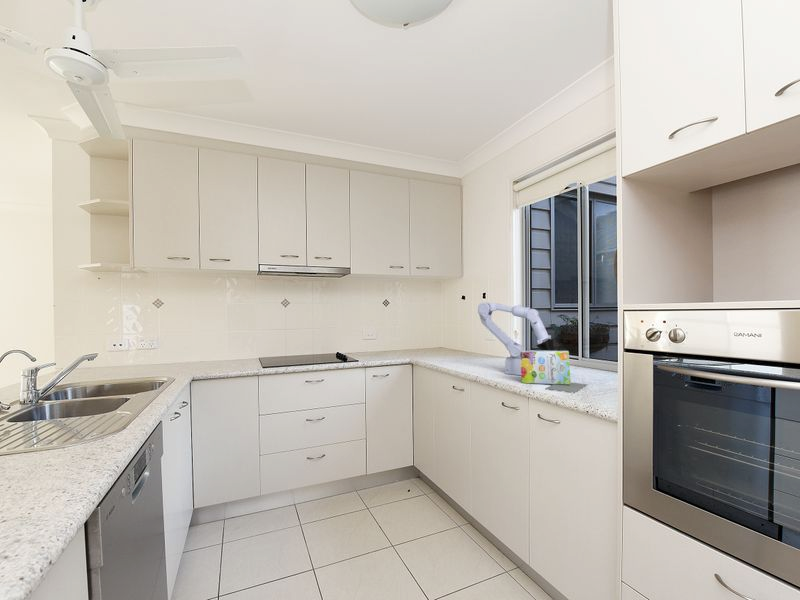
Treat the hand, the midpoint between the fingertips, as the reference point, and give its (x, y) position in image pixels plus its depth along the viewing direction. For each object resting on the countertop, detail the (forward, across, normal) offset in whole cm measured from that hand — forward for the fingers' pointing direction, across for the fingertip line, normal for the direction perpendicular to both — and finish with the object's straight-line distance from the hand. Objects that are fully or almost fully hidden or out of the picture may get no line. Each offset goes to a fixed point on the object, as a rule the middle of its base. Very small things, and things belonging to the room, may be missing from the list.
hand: (551, 354), depth 191 cm
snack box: (+10, -22, 0) cm, 24 cm away
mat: (+14, -24, -9) cm, 29 cm away
